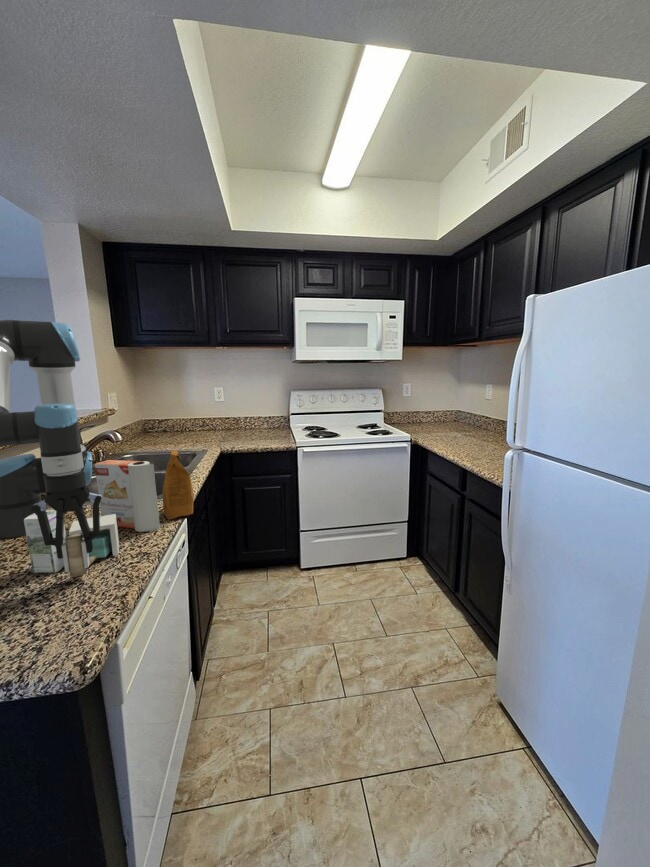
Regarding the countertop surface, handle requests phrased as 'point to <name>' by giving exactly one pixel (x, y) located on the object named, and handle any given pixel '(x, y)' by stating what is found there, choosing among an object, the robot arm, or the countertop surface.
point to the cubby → (101, 529)
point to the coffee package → (177, 489)
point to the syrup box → (42, 545)
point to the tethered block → (100, 549)
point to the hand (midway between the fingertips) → (77, 567)
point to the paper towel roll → (143, 496)
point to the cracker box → (115, 491)
